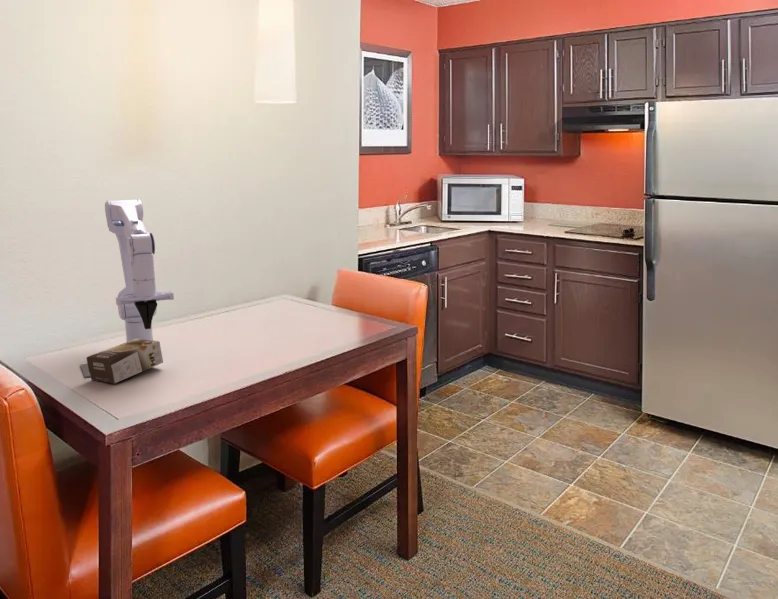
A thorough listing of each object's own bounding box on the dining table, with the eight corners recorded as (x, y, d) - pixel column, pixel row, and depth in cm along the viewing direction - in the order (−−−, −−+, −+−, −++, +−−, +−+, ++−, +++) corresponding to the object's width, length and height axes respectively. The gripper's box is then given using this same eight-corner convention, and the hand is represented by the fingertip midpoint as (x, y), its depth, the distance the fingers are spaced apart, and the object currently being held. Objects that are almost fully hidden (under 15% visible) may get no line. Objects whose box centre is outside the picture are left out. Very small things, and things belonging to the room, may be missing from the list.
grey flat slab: (80, 366, 184) (80, 364, 184) (134, 358, 191) (134, 356, 191) (85, 378, 175) (84, 376, 175) (142, 369, 182) (142, 367, 182)
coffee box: (159, 340, 181) (110, 359, 167) (163, 362, 183) (115, 384, 169) (135, 337, 185) (85, 357, 172) (139, 360, 187) (90, 380, 173)
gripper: (117, 284, 175) (121, 335, 178) (174, 278, 182) (178, 328, 185) (112, 279, 181) (117, 328, 184) (169, 274, 188) (172, 322, 191)
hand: (147, 328), depth 185 cm, fingers closed
